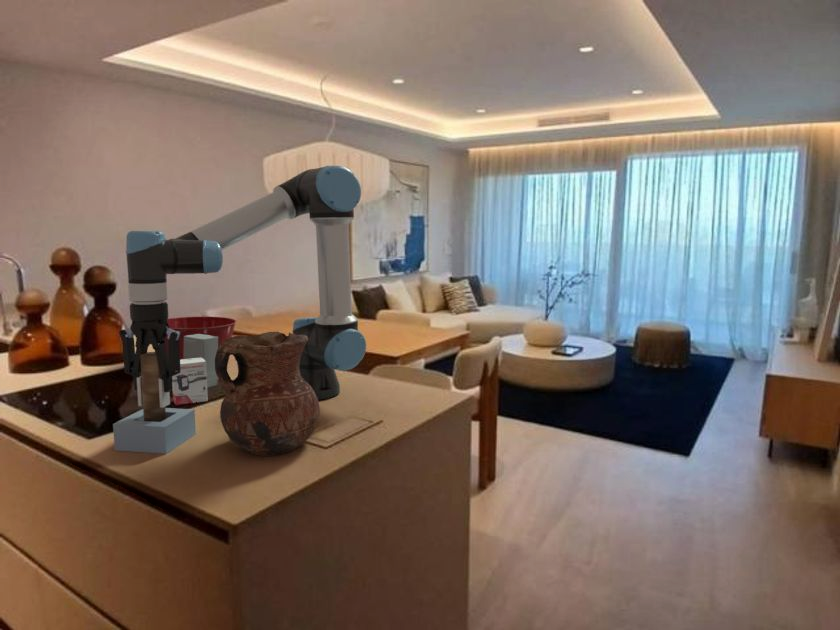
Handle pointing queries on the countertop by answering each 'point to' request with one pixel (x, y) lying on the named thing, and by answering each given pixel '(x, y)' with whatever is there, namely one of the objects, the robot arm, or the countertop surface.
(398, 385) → the countertop surface
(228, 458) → the countertop surface
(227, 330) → the mixing bowl
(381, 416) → the countertop surface
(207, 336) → the skincare box
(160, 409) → the peg
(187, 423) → the socket
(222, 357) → the jug
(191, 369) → the ink box
